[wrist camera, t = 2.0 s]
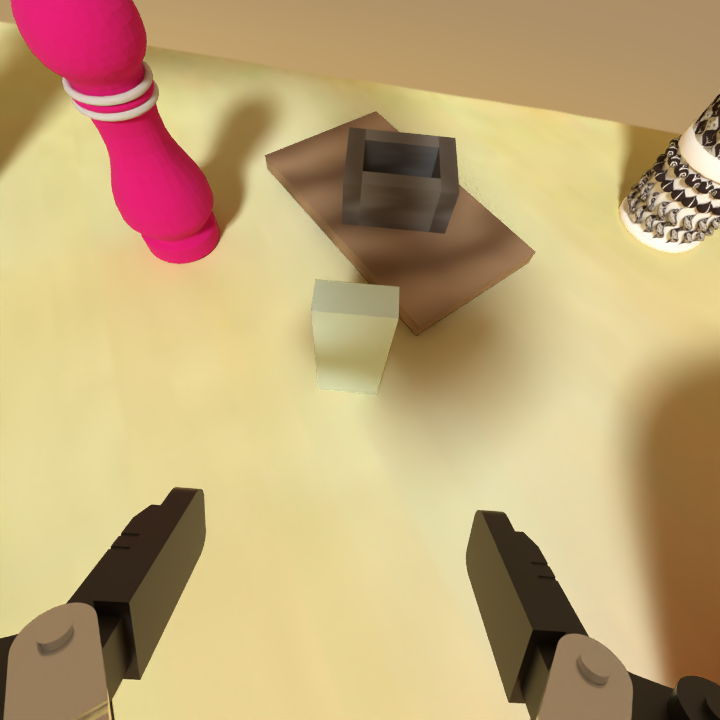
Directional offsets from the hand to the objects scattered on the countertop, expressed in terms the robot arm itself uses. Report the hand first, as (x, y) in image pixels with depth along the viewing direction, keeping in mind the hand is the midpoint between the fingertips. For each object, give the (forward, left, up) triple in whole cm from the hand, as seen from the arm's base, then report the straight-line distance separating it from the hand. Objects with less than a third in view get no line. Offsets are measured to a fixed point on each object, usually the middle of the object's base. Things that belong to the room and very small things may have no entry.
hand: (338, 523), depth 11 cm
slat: (-8, +7, -15) cm, 19 cm away
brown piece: (-20, +21, -15) cm, 33 cm away
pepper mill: (-28, +3, -16) cm, 33 cm away
